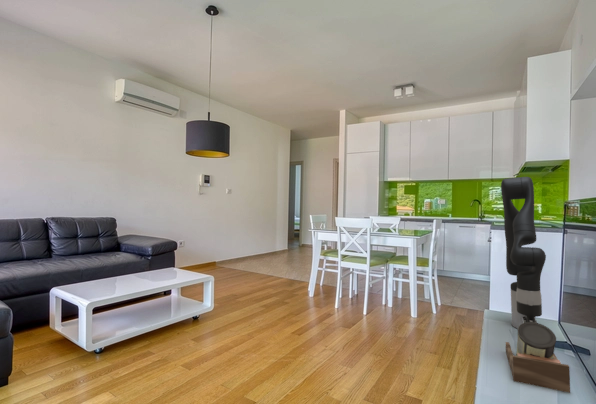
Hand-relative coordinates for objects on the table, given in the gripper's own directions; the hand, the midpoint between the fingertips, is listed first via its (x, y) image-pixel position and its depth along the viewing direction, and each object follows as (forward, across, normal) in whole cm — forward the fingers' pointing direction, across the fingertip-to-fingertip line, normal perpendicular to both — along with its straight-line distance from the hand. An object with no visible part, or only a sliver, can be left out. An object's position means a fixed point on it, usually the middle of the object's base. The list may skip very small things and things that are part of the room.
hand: (530, 347), depth 115 cm
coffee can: (+3, +6, 0) cm, 6 cm away
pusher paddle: (+5, +16, 0) cm, 16 cm away
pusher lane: (+5, +7, 0) cm, 9 cm away
